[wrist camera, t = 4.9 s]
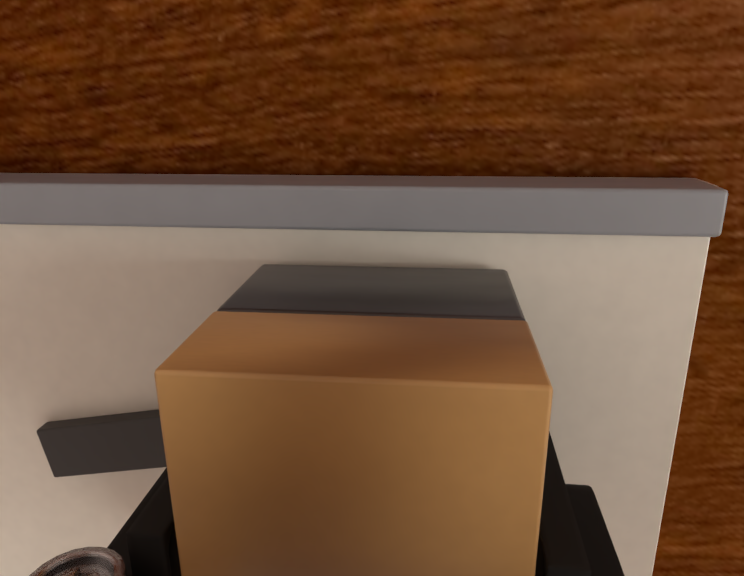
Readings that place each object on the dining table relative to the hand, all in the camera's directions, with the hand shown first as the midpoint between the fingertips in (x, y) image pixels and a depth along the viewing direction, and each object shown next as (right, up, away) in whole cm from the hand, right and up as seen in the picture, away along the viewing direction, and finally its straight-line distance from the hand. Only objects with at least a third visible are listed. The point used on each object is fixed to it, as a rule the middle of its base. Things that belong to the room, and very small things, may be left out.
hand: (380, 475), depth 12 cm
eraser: (0, 0, +1) cm, 1 cm away
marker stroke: (-5, 0, +1) cm, 5 cm away
